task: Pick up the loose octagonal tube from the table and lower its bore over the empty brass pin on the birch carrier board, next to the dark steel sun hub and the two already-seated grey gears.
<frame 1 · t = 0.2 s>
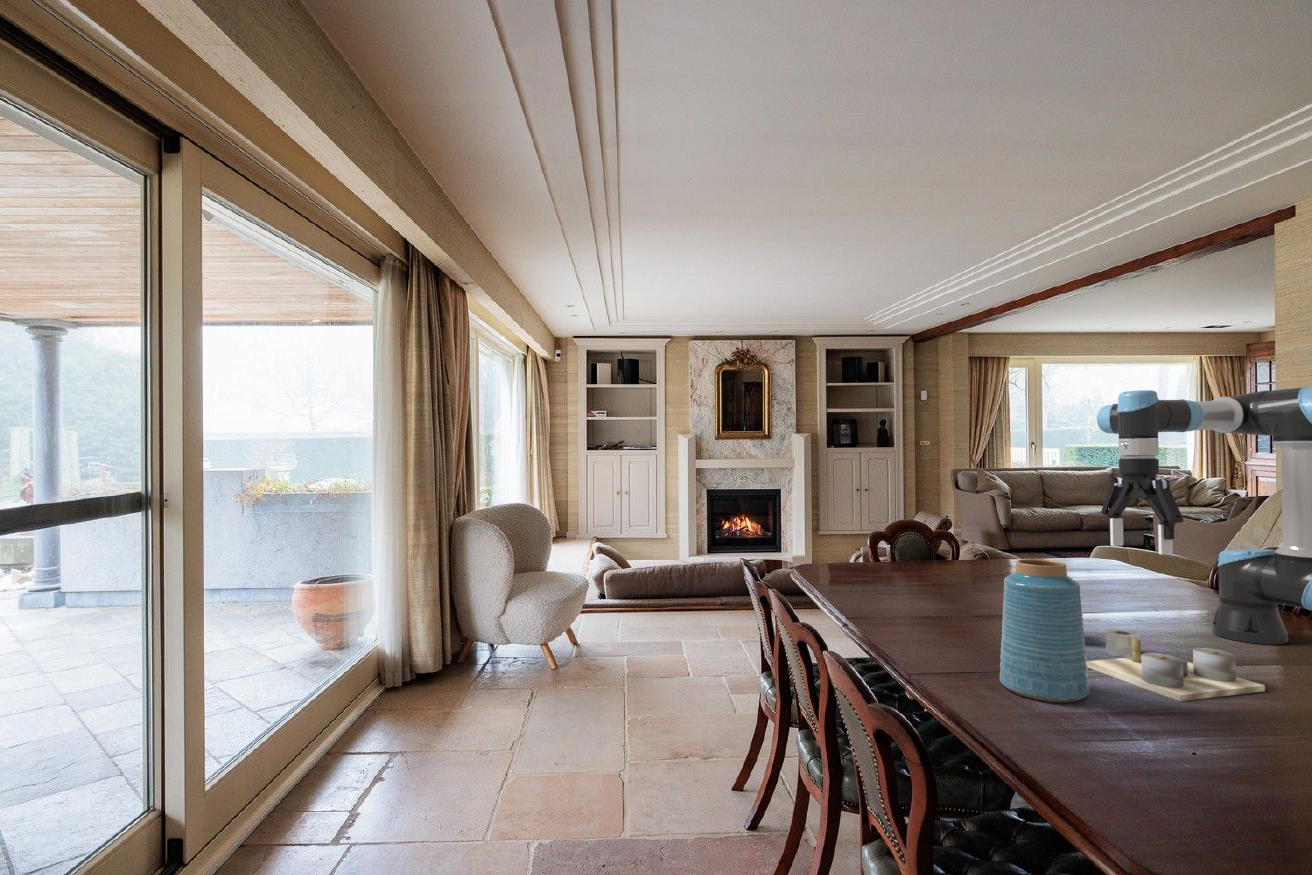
hand: (1140, 549, 155), 27 cm above the table, fingers open, 13 cm apart
octagonal tube: (1122, 653, 165), on the table
vase: (1043, 691, 141), on the table
carrier: (1170, 678, 147), on the table
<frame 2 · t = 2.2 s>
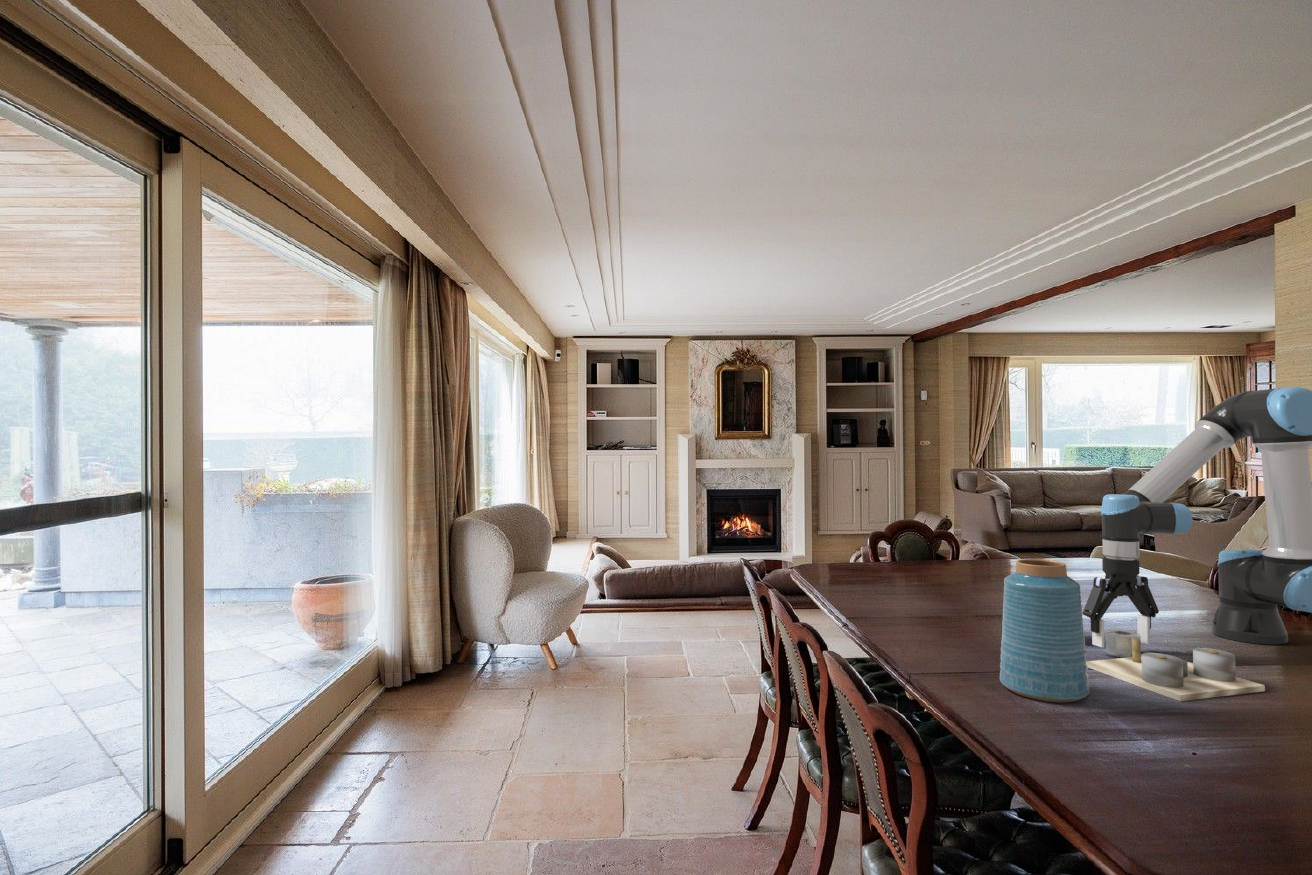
hand: (1121, 644, 165), 2 cm above the table, fingers open, 13 cm apart
nothing on the table moved.
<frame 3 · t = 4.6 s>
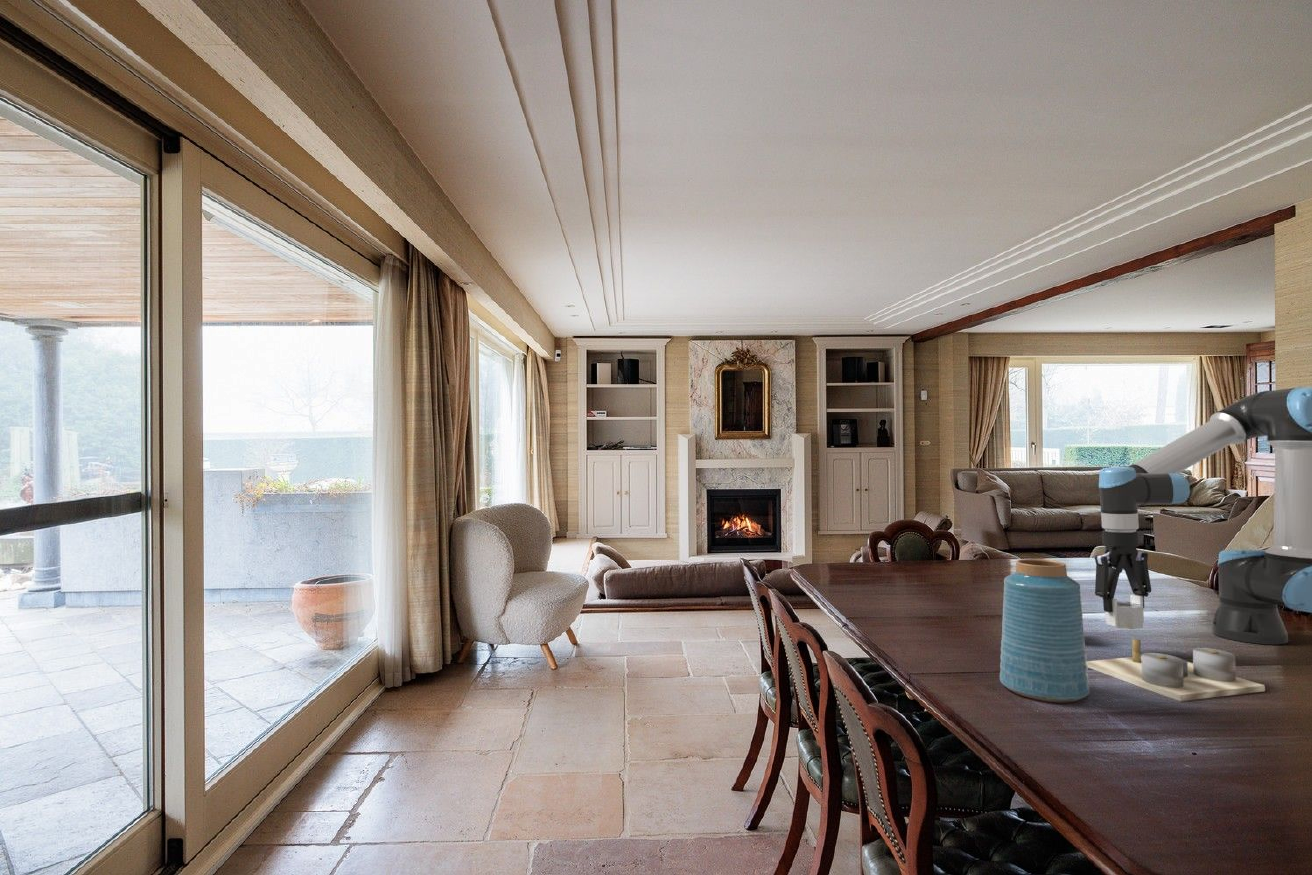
hand: (1124, 623, 165), 7 cm above the table, fingers closed on octagonal tube, 7 cm apart
octagonal tube: (1125, 624, 165), point 7 cm above the table, touching gripper
everything else where it was.
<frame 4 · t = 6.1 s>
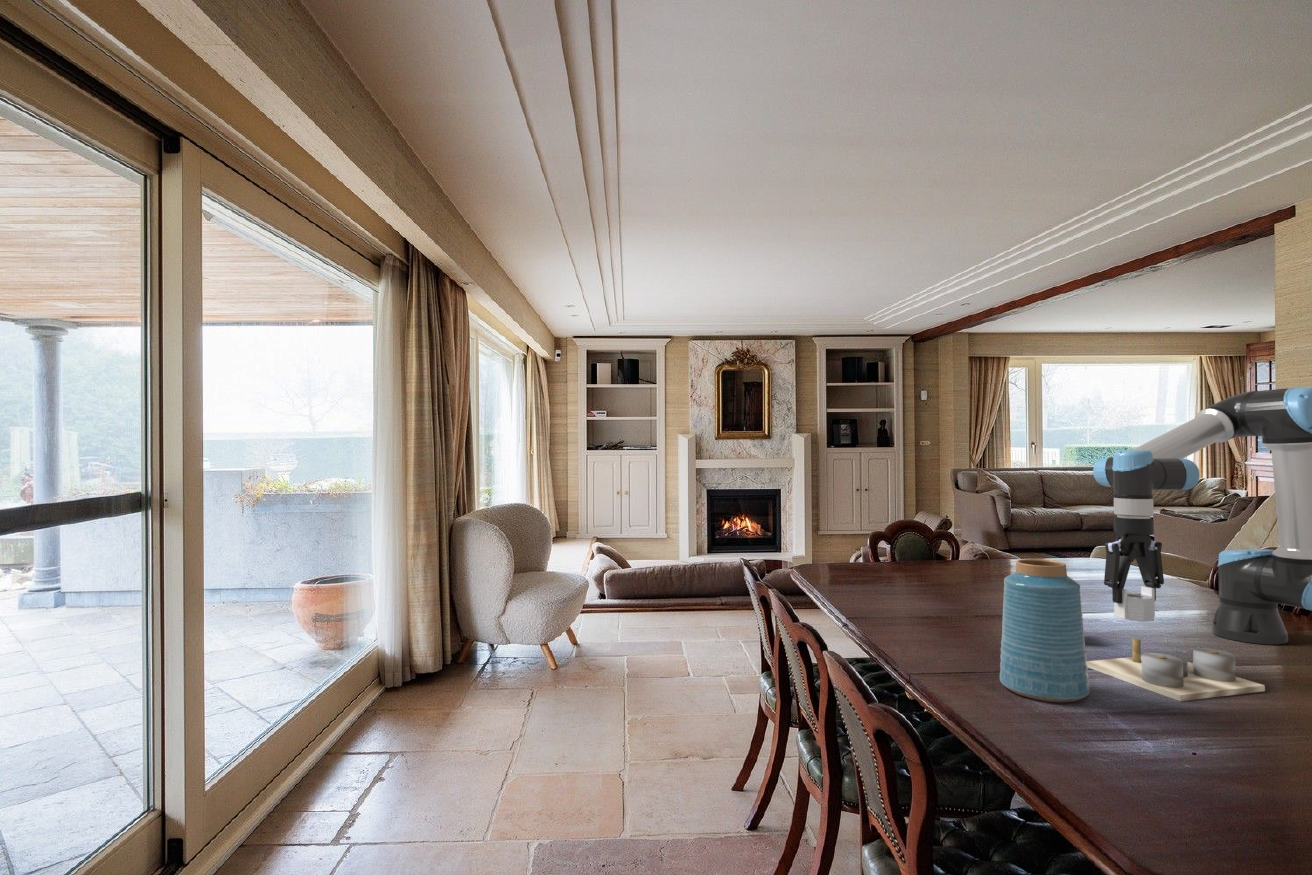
hand: (1134, 616, 155), 12 cm above the table, fingers closed on octagonal tube, 7 cm apart
octagonal tube: (1134, 617, 155), point 11 cm above the table, touching gripper
everything else where it was.
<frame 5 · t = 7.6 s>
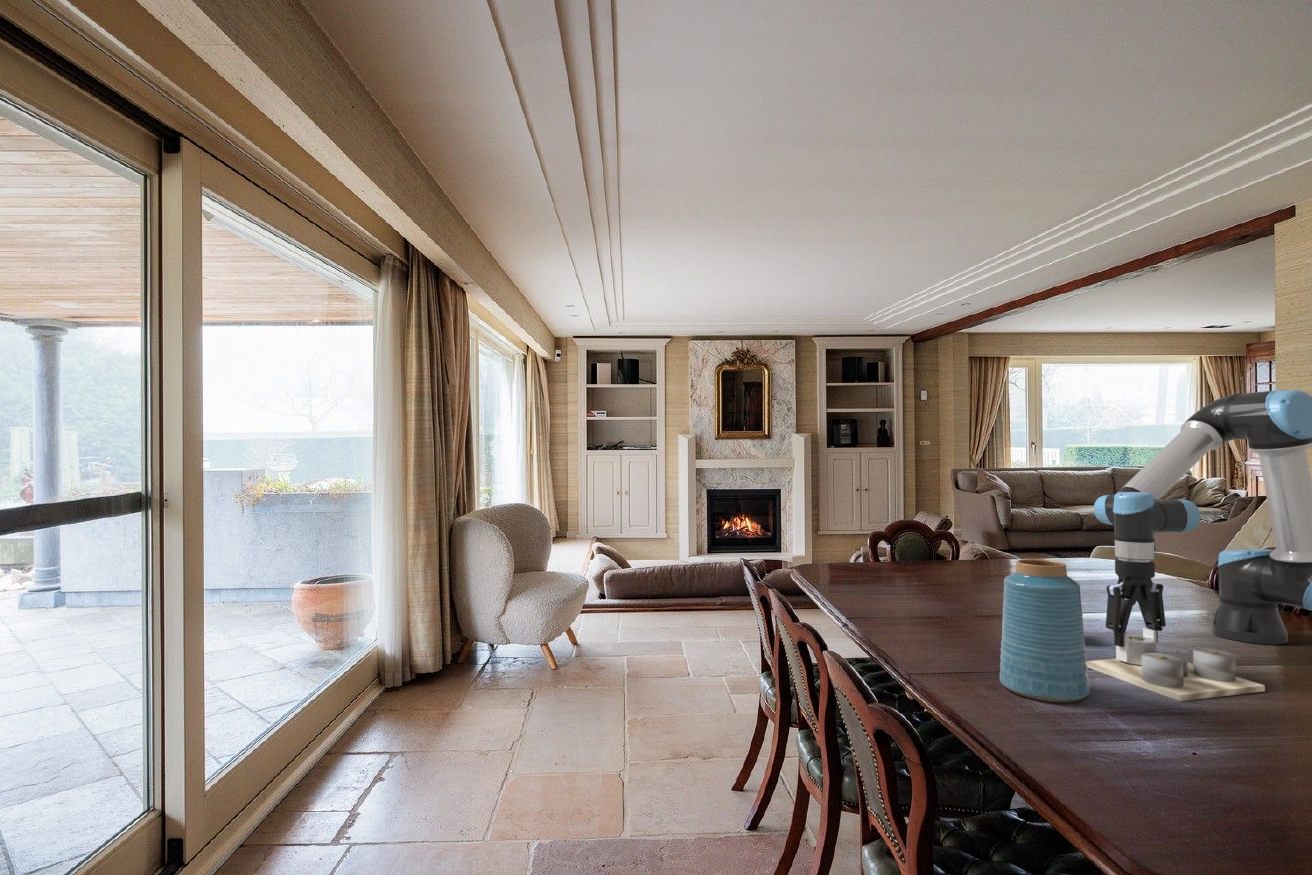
hand: (1136, 658, 155), 2 cm above the table, fingers closed on octagonal tube, 7 cm apart
octagonal tube: (1136, 660, 155), point 2 cm above the table, touching gripper
everything else where it was.
when the fingers open (2 cm above the table, at t = 8.0 s): octagonal tube stays where it is, resting on carrier.
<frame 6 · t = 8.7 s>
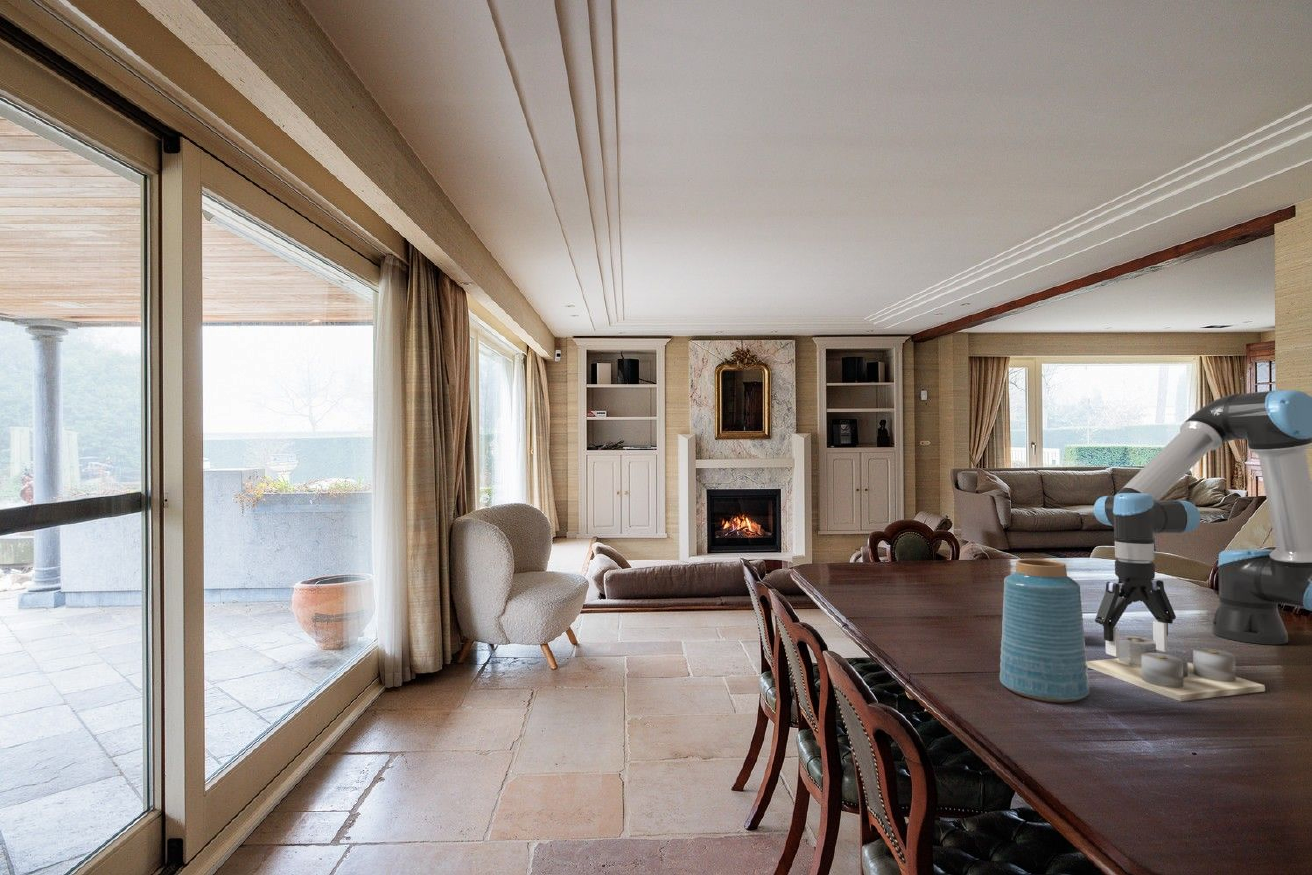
hand: (1136, 652, 155), 3 cm above the table, fingers open, 13 cm apart
octagonal tube: (1136, 661, 155), point 1 cm above the table, touching carrier
everything else where it was.
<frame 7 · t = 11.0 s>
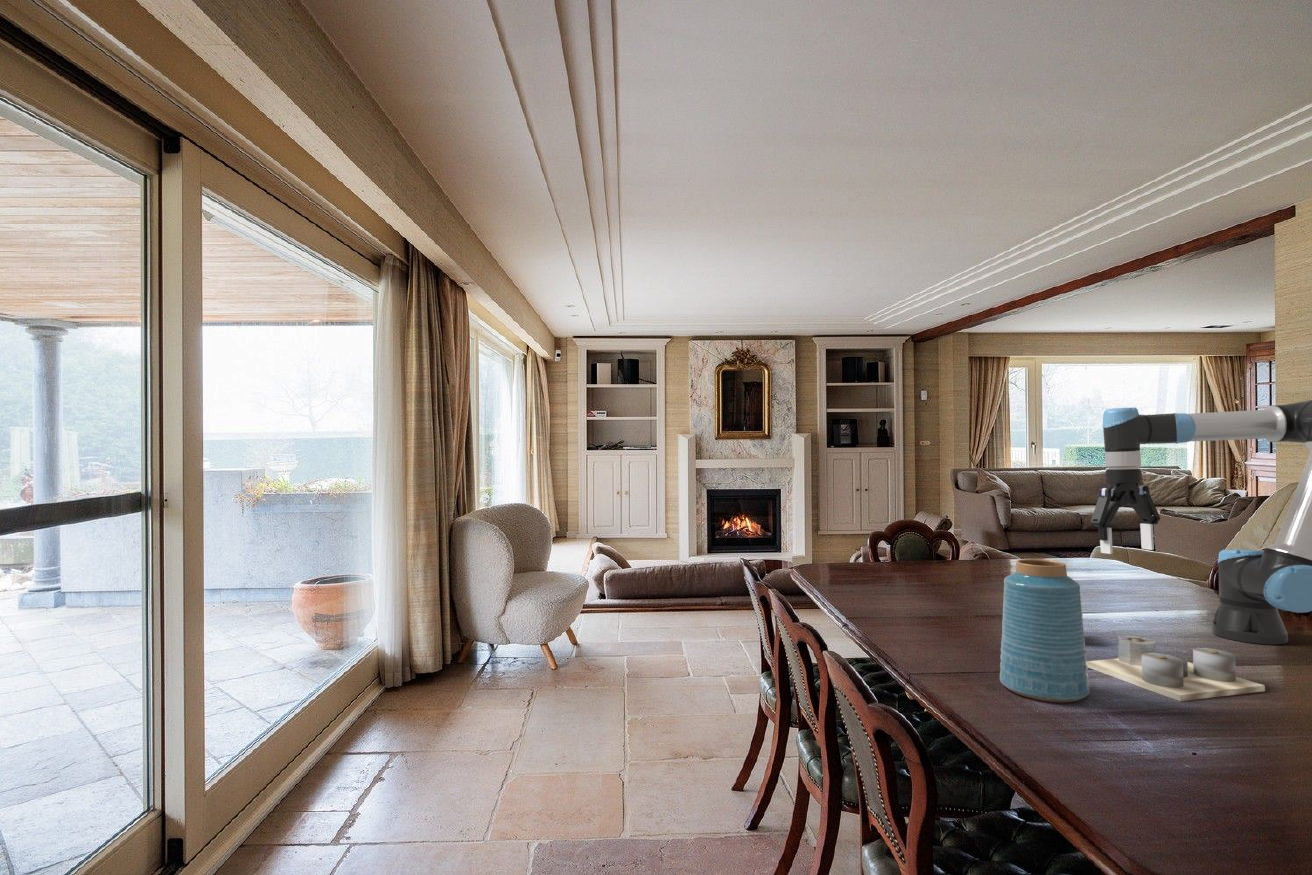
hand: (1127, 551, 172), 24 cm above the table, fingers open, 13 cm apart
nothing on the table moved.
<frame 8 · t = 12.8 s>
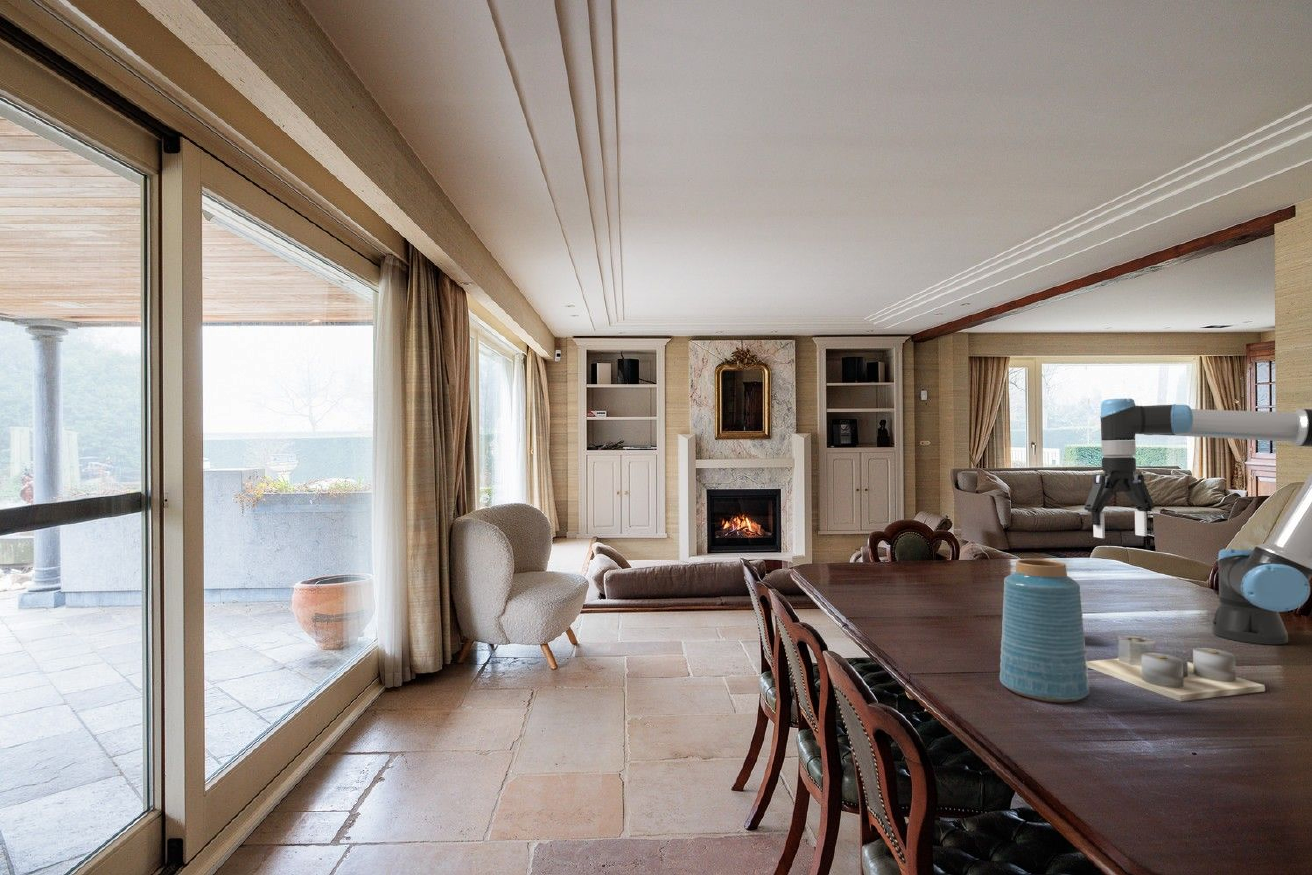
hand: (1120, 536, 179), 27 cm above the table, fingers open, 13 cm apart
nothing on the table moved.
at the end: octagonal tube 0.1 cm from the target spot on the carrier, point 1.2 cm above the carrier's base; octagonal tube tilted 0°; the gripper is holding nothing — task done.
